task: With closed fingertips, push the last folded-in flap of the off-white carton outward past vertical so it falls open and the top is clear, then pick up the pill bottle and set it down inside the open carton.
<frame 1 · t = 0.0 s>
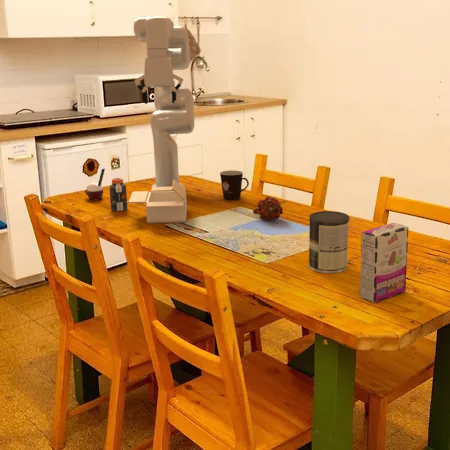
hand: (160, 103, 229), 37 cm above the table, tool pointing down, fingers open, 9 cm apart
carton: (167, 216, 221), on the table
pill bottle: (119, 209, 231), on the table
candy bar box: (382, 295, 151), on the table
flap: (178, 189, 218), point 9 cm above the table, hinge at -45.1°
coffee mug: (233, 199, 242), on the table
dark red rounded piece: (267, 220, 215), on the table
cocoa: (95, 199, 247), on the table
coffee can: (327, 267, 170), on the table
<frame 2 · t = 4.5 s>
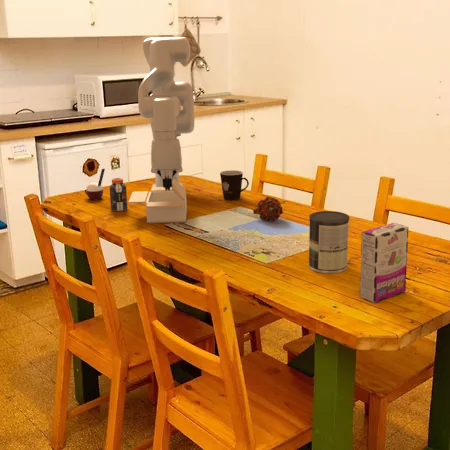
hand: (167, 189, 218), 10 cm above the table, tool pointing down, fingers closed
flap: (178, 189, 218), point 9 cm above the table, hinge at -44.9°, touching gripper
everything else where it was.
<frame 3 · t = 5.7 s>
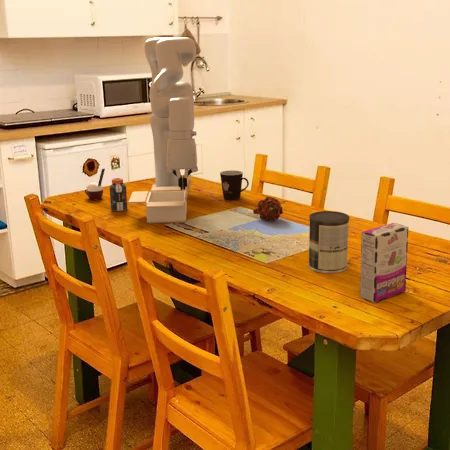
hand: (183, 188, 218), 10 cm above the table, tool pointing down, fingers closed
flap: (188, 187, 218), point 10 cm above the table, hinge at 17.2°, touching gripper
everything else where it was.
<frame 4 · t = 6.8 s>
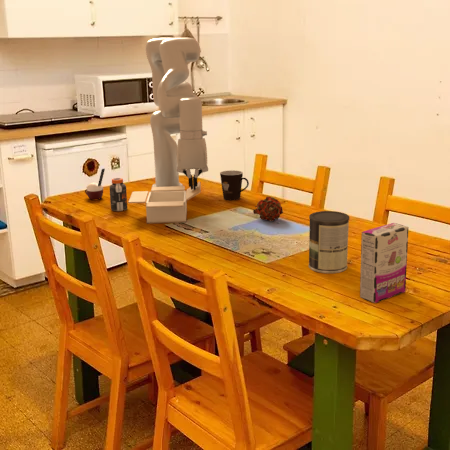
hand: (193, 188, 218), 10 cm above the table, tool pointing down, fingers closed
flap: (193, 190, 218), point 9 cm above the table, hinge at 59.4°
everything else where it was.
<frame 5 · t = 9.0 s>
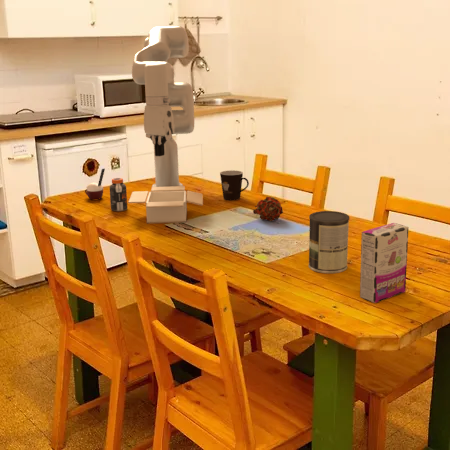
hand: (159, 155, 219), 21 cm above the table, tool pointing down, fingers closed
flap: (194, 197, 219), point 6 cm above the table, hinge at 105.4°
everything else where it was.
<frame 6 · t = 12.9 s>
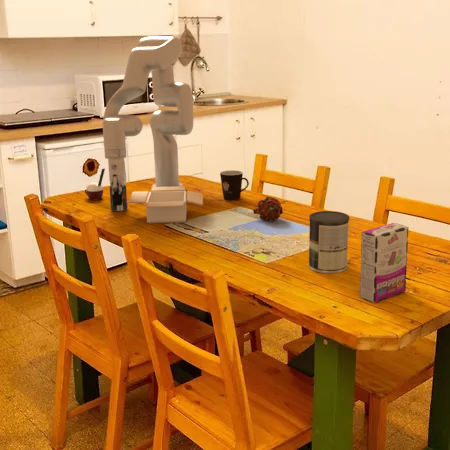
hand: (118, 202, 230), 3 cm above the table, tool pointing down, fingers closed on pill bottle, 6 cm apart
pill bottle: (119, 209, 231), on the table, touching gripper
everything else where it was.
when the fingers open (5 cm above the table, at t = 18.6 s): pill bottle drops 2 cm, resting on carton.
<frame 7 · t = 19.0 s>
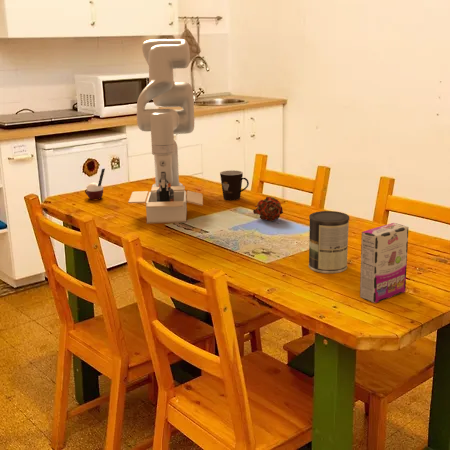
hand: (165, 198, 219), 6 cm above the table, tool pointing down, fingers open, 9 cm apart
pill bottle: (166, 215, 221), resting on carton
everything else where it was.
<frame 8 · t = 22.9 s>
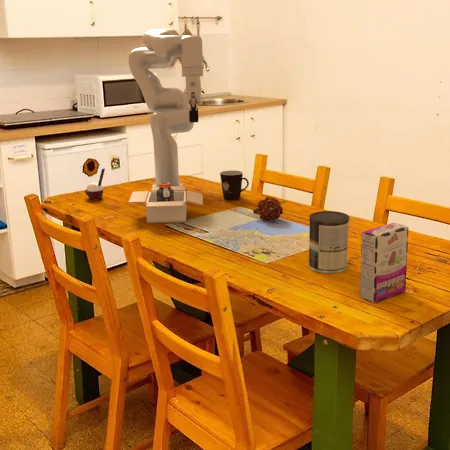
hand: (194, 120, 231), 30 cm above the table, tool pointing down, fingers open, 9 cm apart
nothing on the table moved.
at the end: flap at +105° (first picture: -45°); pill bottle inside the target area on the carton (1.9 cm from its centre), point 0.3 cm above the carton's base; pill bottle tilted 0° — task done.
